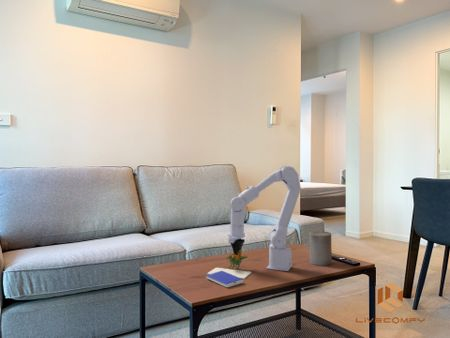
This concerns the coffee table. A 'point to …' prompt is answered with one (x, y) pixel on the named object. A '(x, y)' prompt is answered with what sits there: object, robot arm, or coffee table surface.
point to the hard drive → (224, 278)
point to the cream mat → (232, 272)
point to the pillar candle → (320, 248)
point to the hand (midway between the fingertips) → (237, 256)
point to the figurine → (236, 259)
